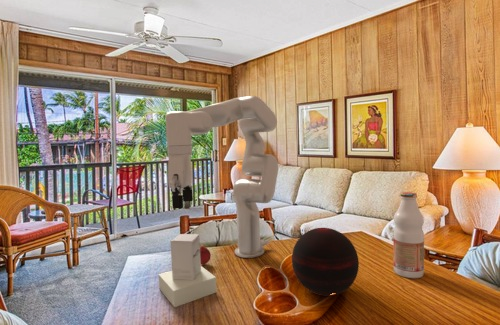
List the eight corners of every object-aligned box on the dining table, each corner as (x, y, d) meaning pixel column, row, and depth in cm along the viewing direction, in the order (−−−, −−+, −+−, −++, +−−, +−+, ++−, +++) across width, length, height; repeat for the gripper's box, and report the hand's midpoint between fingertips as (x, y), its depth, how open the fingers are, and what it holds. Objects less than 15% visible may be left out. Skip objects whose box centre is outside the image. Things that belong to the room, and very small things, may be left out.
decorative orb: (292, 308, 87) (290, 239, 85) (292, 276, 106) (291, 220, 105) (366, 311, 84) (365, 240, 82) (351, 277, 104) (351, 220, 102)
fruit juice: (402, 279, 101) (402, 196, 98) (388, 267, 110) (388, 191, 108) (430, 278, 101) (430, 195, 99) (413, 266, 110) (414, 190, 108)
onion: (213, 262, 121) (212, 243, 120) (206, 268, 115) (205, 248, 115) (200, 261, 123) (199, 241, 122) (193, 267, 117) (192, 247, 116)
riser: (198, 276, 109) (197, 263, 108) (216, 292, 97) (215, 277, 97) (159, 288, 101) (158, 274, 101) (174, 307, 90) (173, 291, 89)
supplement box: (194, 280, 95) (191, 241, 94) (171, 279, 96) (169, 240, 95) (201, 270, 102) (199, 233, 101) (181, 269, 104) (178, 233, 103)
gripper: (177, 150, 105) (181, 199, 107) (157, 153, 88) (161, 211, 89) (199, 149, 104) (201, 198, 106) (182, 152, 87) (186, 211, 89)
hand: (183, 204), depth 98 cm, fingers open, 9 cm apart
